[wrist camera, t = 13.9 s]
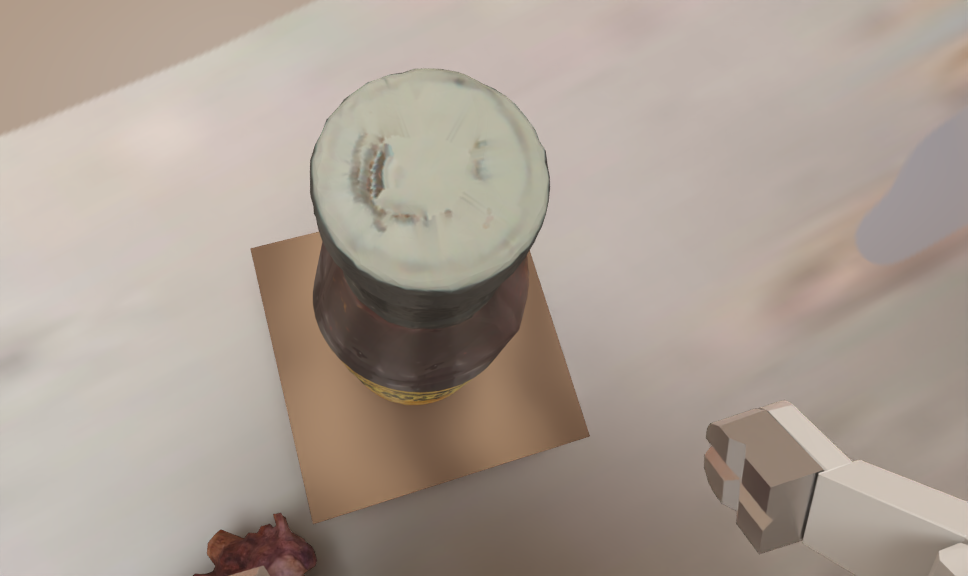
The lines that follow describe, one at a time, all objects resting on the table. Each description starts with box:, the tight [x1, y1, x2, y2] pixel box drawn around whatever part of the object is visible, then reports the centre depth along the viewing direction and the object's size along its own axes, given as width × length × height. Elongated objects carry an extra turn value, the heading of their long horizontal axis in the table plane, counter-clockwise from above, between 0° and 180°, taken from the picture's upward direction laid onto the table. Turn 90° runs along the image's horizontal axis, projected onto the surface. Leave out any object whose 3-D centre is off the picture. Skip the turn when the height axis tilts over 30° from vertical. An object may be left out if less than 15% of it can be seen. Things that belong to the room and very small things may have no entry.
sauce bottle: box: [310, 69, 550, 405], centre depth 20 cm, size 6×6×20 cm
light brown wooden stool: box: [251, 232, 590, 524], centre depth 34 cm, size 13×13×9 cm
